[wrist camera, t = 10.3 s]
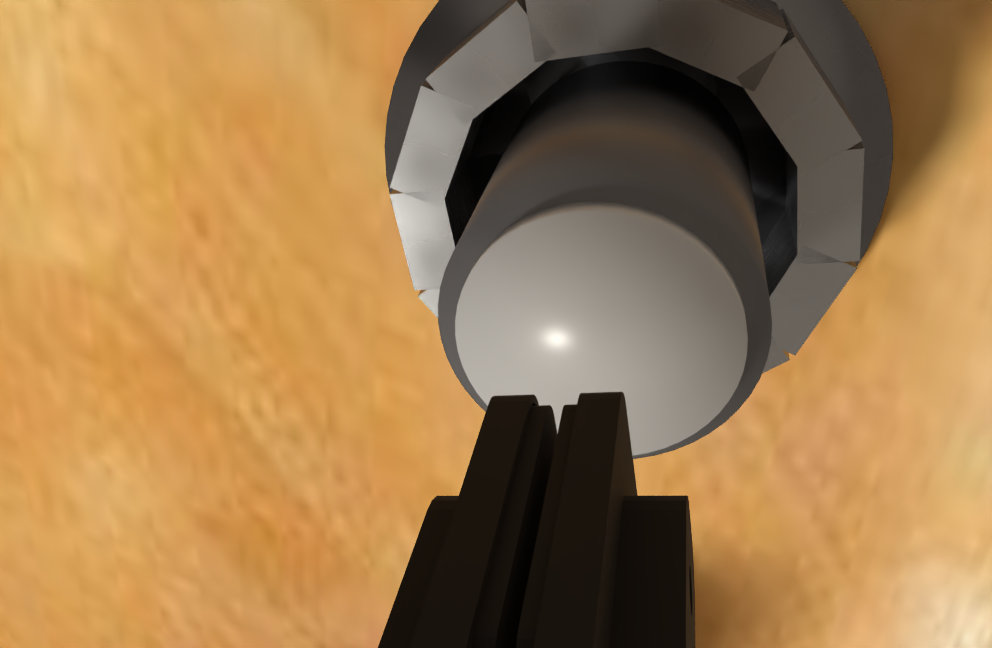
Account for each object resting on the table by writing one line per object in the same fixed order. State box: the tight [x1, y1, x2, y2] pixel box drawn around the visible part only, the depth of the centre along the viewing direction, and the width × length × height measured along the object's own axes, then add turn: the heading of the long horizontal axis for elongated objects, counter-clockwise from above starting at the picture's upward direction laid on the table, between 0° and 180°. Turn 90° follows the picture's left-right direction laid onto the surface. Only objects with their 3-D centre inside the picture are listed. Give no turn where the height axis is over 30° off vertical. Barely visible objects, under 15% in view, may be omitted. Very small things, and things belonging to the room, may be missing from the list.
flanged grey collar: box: [385, 0, 893, 373], centre depth 19 cm, size 12×12×3 cm
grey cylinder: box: [438, 61, 772, 459], centre depth 17 cm, size 6×6×7 cm
